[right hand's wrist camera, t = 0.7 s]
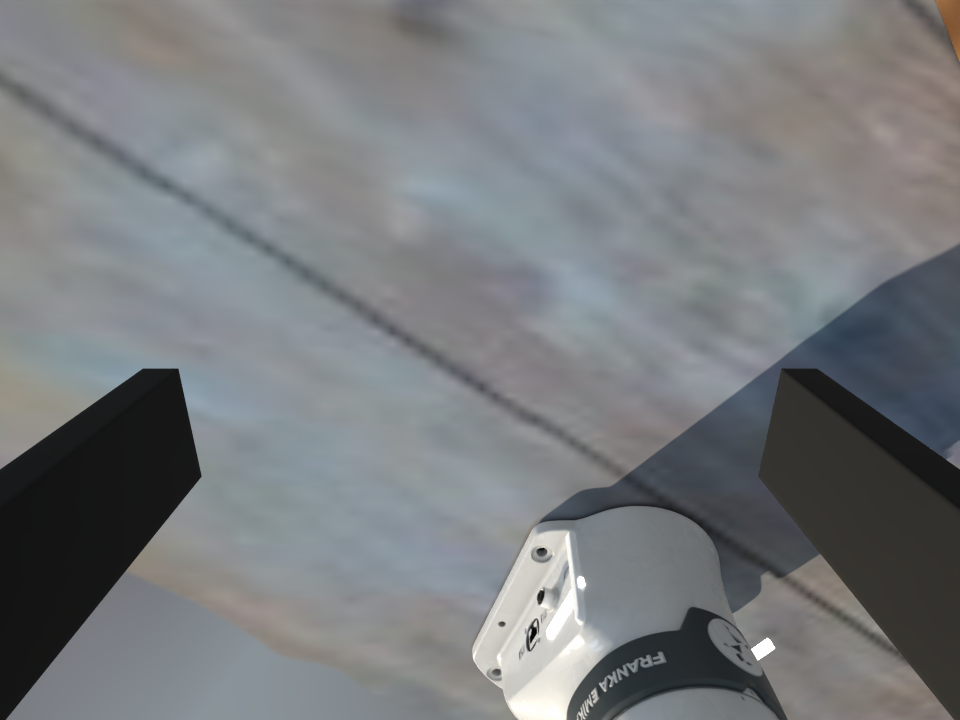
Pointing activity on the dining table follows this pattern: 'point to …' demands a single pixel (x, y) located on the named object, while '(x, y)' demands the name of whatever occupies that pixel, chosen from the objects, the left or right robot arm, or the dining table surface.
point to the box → (951, 21)
